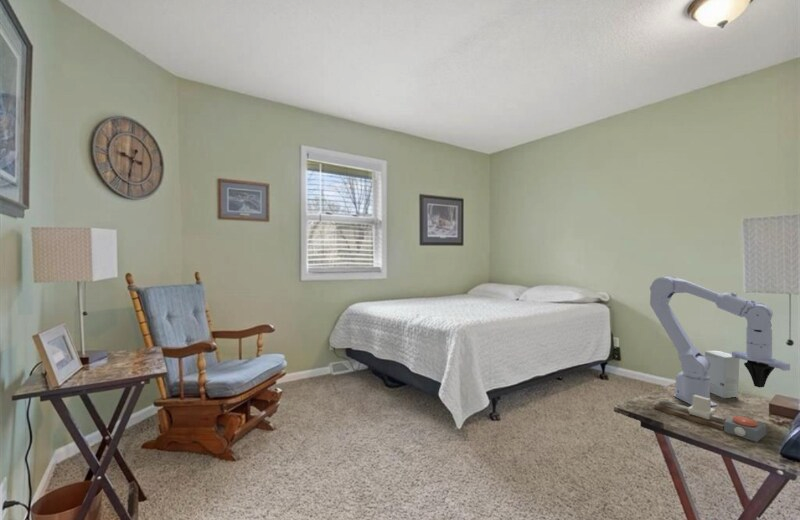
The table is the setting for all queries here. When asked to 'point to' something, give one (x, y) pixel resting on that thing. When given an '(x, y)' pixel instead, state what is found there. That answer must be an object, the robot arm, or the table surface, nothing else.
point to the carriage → (701, 407)
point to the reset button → (744, 421)
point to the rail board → (684, 413)
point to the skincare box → (723, 373)
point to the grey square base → (745, 430)
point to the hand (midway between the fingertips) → (759, 386)
